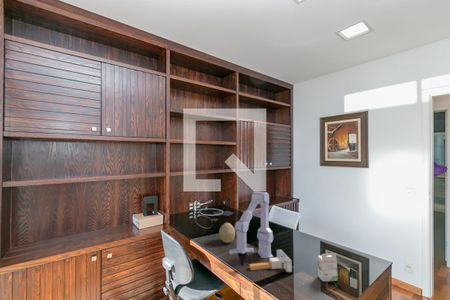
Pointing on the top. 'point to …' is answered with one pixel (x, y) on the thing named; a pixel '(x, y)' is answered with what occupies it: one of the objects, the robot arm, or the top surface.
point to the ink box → (327, 267)
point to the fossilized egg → (227, 233)
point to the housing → (285, 260)
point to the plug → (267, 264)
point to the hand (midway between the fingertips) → (241, 265)
